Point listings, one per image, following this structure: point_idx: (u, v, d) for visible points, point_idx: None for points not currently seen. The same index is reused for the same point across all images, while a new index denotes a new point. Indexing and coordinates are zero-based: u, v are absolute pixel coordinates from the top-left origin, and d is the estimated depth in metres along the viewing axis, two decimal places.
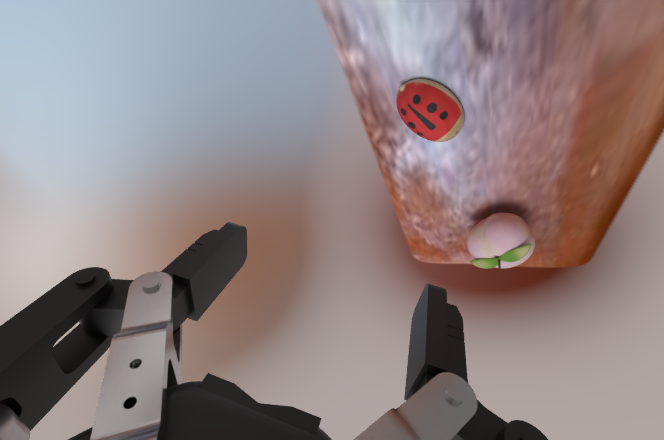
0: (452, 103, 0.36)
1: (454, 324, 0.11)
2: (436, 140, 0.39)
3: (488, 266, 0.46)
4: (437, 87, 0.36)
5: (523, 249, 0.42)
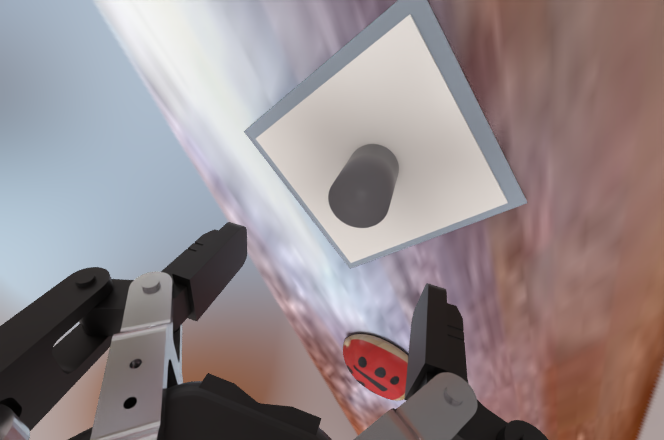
0: (403, 365, 0.32)
1: (454, 324, 0.11)
2: (391, 399, 0.34)
3: None
4: (384, 348, 0.32)
5: None
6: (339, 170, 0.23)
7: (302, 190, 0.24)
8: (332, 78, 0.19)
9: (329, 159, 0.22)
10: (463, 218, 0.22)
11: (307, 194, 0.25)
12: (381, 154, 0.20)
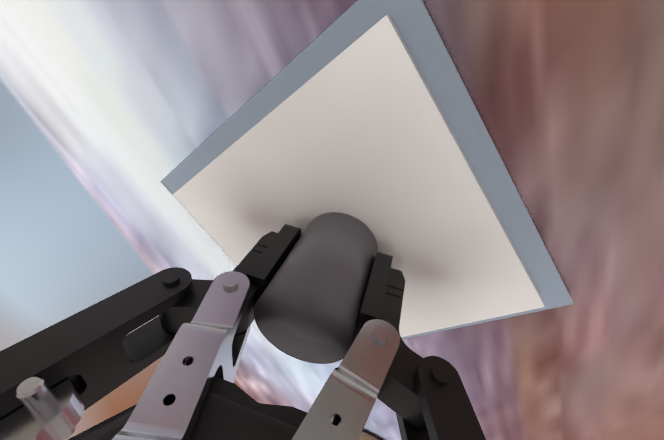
0: None
1: (396, 285, 0.12)
2: None
3: None
4: None
5: None
6: None
7: None
8: (269, 116, 0.12)
9: (276, 228, 0.15)
10: (474, 319, 0.15)
11: None
12: (347, 236, 0.12)
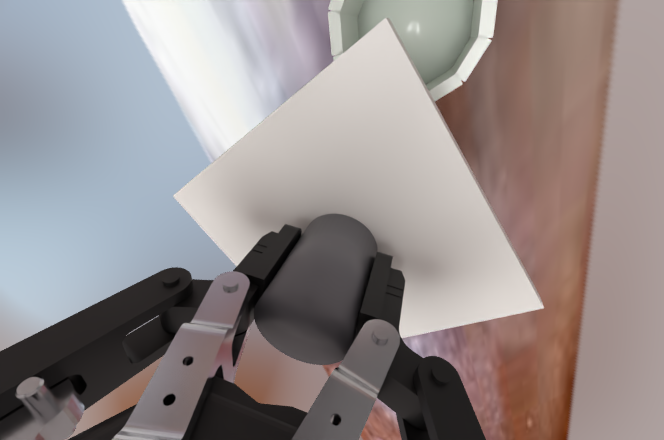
0: None
1: (396, 285, 0.12)
2: None
3: None
4: None
5: None
6: None
7: None
8: (269, 118, 0.12)
9: (276, 229, 0.15)
10: (474, 320, 0.15)
11: None
12: (346, 237, 0.12)
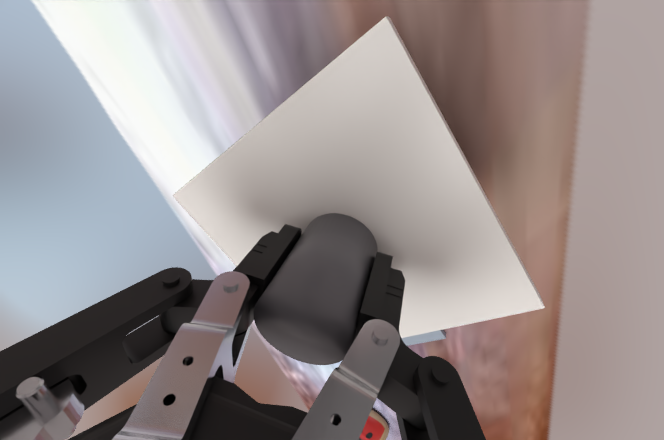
0: (375, 424, 0.44)
1: (396, 285, 0.12)
2: None
3: None
4: None
5: None
6: None
7: None
8: (269, 117, 0.12)
9: (276, 229, 0.15)
10: (474, 320, 0.15)
11: None
12: (346, 237, 0.12)
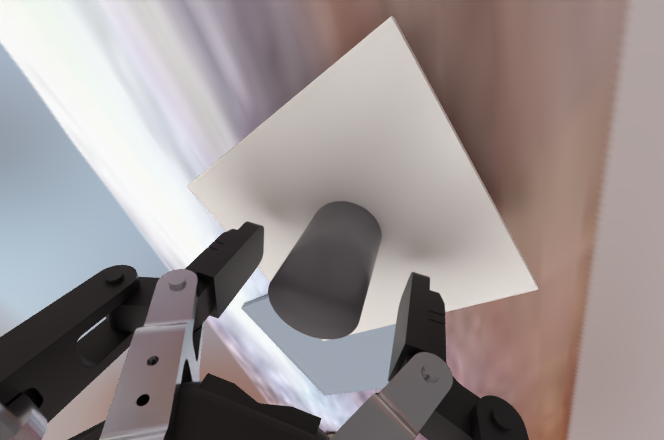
0: None
1: (436, 309, 0.11)
2: None
3: None
4: None
5: None
6: (300, 232, 0.16)
7: None
8: (280, 110, 0.13)
9: (285, 217, 0.16)
10: (473, 303, 0.15)
11: None
12: (353, 222, 0.13)
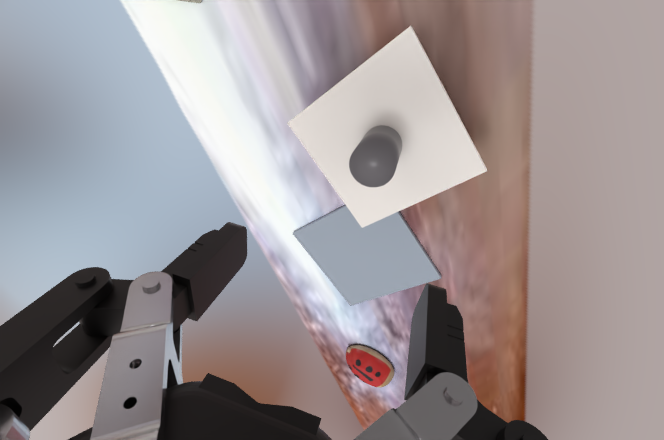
0: (383, 365, 0.52)
1: (454, 324, 0.11)
2: (375, 386, 0.53)
3: None
4: (372, 354, 0.52)
5: None
6: (354, 147, 0.28)
7: (324, 166, 0.30)
8: (351, 73, 0.25)
9: (346, 138, 0.28)
10: (453, 185, 0.28)
11: (327, 169, 0.30)
12: (389, 132, 0.25)
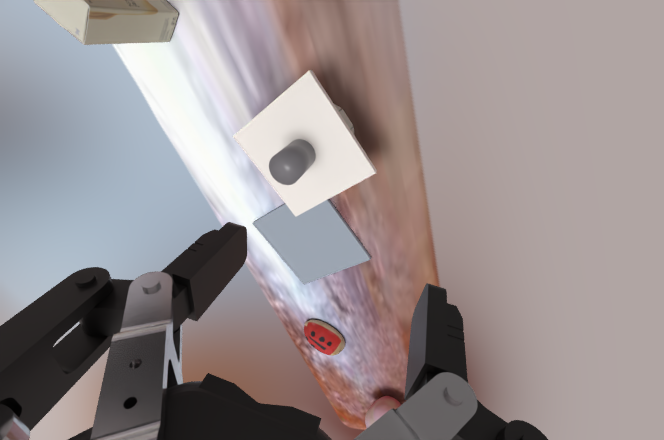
0: (334, 336, 0.61)
1: (454, 324, 0.11)
2: (328, 354, 0.63)
3: None
4: (325, 327, 0.61)
5: None
6: None
7: (262, 168, 0.40)
8: (273, 102, 0.35)
9: (276, 148, 0.37)
10: (354, 183, 0.37)
11: (265, 171, 0.40)
12: (301, 144, 0.35)
